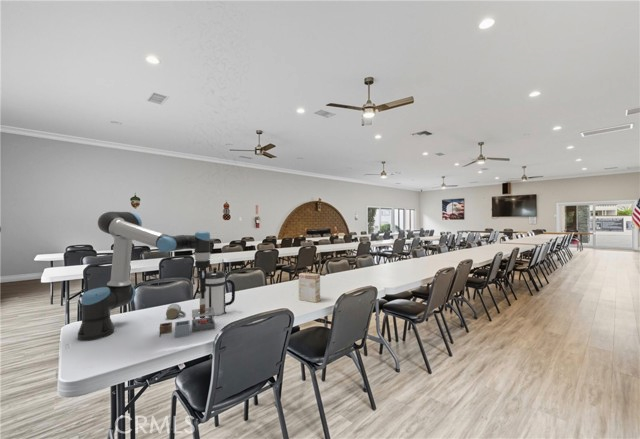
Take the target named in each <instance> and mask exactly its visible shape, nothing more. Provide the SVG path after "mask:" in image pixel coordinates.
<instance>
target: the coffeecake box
mask: <svg viewBox="0 0 640 439" xmlns="http://www.w3.org/2000/svg"><path fill="white" fill-rule="evenodd" d="M298 300H299V301H304V302H309V303H314V304H315V303H317V302H320V301H321V274H320V273H312V272H301V273H298Z"/></svg>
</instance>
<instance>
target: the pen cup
mask: <svg viewBox="0 0 640 439" xmlns="http://www.w3.org/2000/svg"><path fill="white" fill-rule="evenodd" d="M190 323H191V322H190V320H183V321H176V322H175V323H174V338H181V337H187V336H188V337H189V336H190V334H191V331H190V330H191V329H190V327H191V326H190V325H191V324H190Z"/></svg>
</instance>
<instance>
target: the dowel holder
mask: <svg viewBox="0 0 640 439" xmlns="http://www.w3.org/2000/svg"><path fill="white" fill-rule="evenodd" d="M172 332H173V322H172V321H171V322H170V321H169V322H163V323H160V324H159V337H161V336H162V335H163V334H169V333H172Z"/></svg>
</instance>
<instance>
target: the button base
mask: <svg viewBox="0 0 640 439" xmlns="http://www.w3.org/2000/svg"><path fill="white" fill-rule="evenodd" d="M205 311H208V312H204V313H200V308H197V309H196V308H195V309H192V310H191V318H192V319H191V330H192V331H191V333H196V332H202V331H204V332H205V331H211V330H215V329H216V328H215V327H216V325H215V324H216V323H215V319H214V315H215V312H214V308H213V307H211V308H205ZM209 315H211V317H209ZM201 316H205V318H200V317H201ZM202 319H207V322H206V323H199V321H200V320H202Z"/></svg>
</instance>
